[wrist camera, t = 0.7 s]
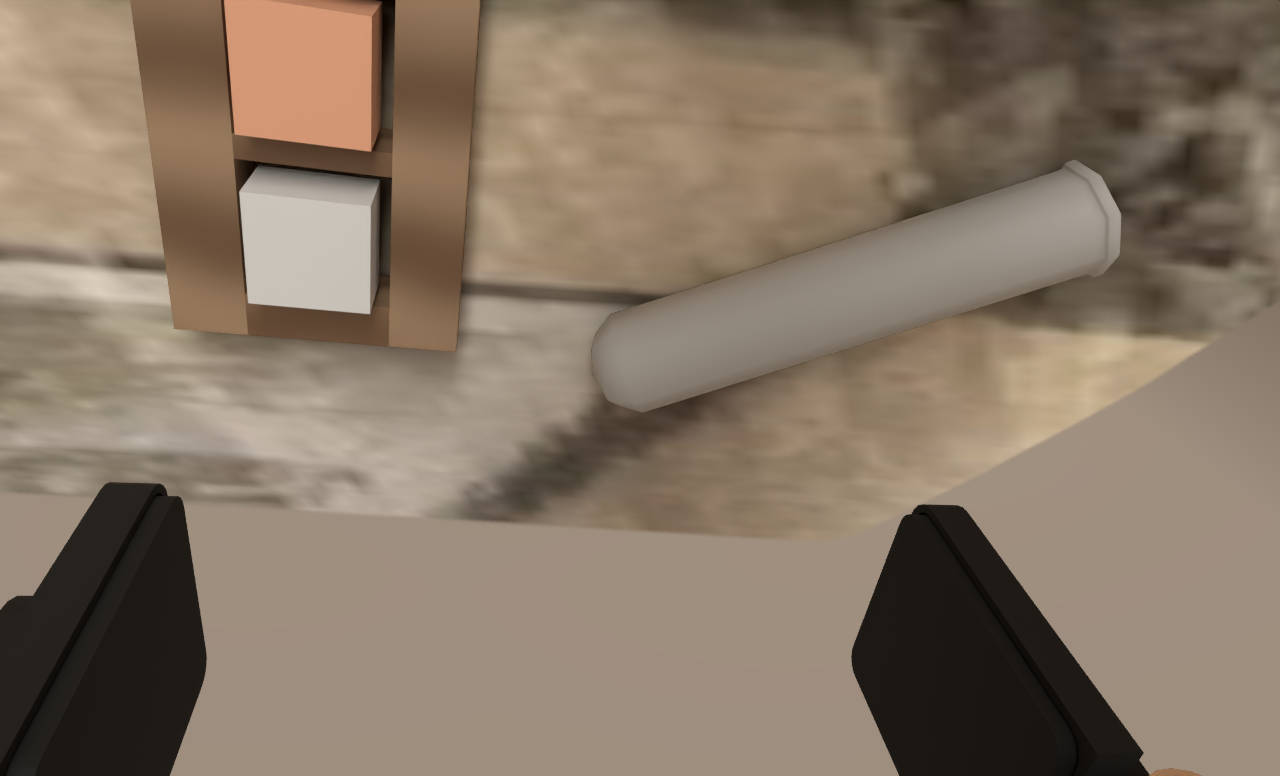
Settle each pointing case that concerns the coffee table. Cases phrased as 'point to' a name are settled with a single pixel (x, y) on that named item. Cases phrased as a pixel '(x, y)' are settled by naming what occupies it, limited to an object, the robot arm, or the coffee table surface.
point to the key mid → (306, 70)
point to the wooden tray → (223, 162)
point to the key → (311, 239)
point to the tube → (859, 289)
